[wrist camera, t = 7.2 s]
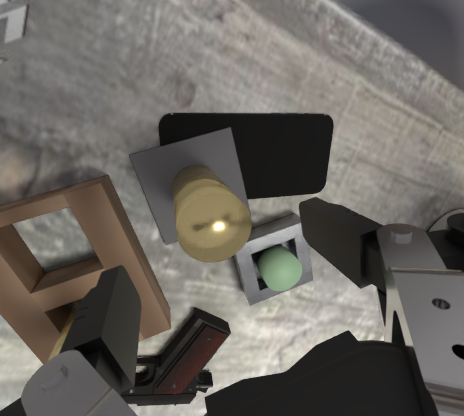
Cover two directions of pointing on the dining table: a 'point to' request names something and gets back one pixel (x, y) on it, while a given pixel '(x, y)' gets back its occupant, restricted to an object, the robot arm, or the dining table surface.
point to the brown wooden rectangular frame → (77, 275)
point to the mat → (177, 158)
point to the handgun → (180, 364)
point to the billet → (208, 215)
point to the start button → (279, 268)
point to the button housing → (264, 238)
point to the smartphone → (265, 147)
